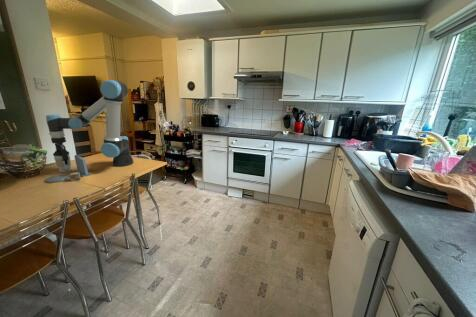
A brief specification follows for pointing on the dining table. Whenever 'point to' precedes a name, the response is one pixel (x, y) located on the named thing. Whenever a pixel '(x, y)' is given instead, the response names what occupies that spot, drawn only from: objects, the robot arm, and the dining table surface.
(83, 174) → the screen
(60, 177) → the coaster
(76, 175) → the letter block
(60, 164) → the coffee cup
